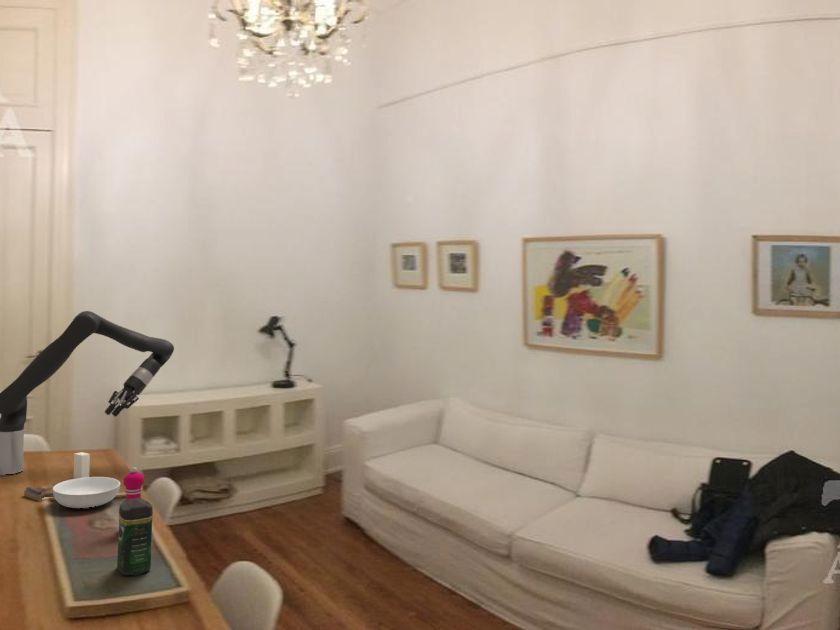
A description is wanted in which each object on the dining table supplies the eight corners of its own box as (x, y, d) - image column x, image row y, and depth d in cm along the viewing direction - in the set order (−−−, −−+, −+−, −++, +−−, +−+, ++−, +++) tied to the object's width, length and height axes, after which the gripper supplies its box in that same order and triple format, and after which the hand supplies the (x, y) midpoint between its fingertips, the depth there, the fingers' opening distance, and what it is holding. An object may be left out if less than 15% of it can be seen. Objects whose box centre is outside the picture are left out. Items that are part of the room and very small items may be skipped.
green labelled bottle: (154, 572, 170) (156, 503, 169) (122, 579, 165) (124, 508, 164) (145, 559, 177) (147, 493, 177) (114, 566, 173) (116, 498, 172)
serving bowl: (50, 517, 207) (51, 496, 206) (53, 498, 225) (54, 479, 225) (121, 510, 216) (121, 490, 216) (118, 492, 235) (119, 474, 235)
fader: (82, 477, 243) (82, 451, 243) (91, 480, 240) (92, 454, 240) (70, 480, 239) (71, 453, 239) (80, 483, 236) (81, 456, 236)
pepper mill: (135, 536, 194) (137, 471, 194) (114, 533, 195) (116, 469, 195) (149, 528, 201) (151, 465, 201) (129, 525, 203) (131, 463, 202)
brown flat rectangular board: (83, 482, 246) (83, 473, 246) (99, 486, 241) (99, 478, 240) (24, 496, 227) (24, 487, 227) (39, 501, 222) (39, 492, 222)
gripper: (121, 373, 260) (92, 406, 250) (144, 376, 253) (115, 410, 242) (133, 384, 265) (105, 417, 254) (155, 388, 257) (127, 422, 247)
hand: (110, 414), depth 249 cm, fingers open, 4 cm apart
